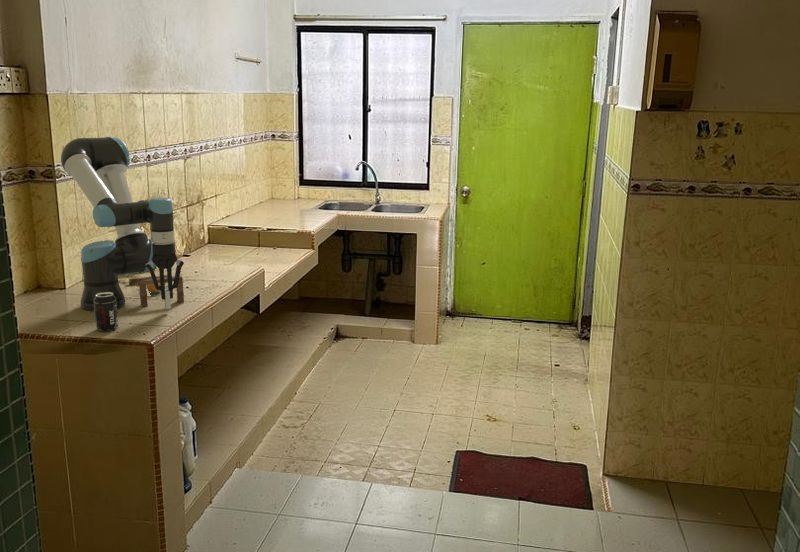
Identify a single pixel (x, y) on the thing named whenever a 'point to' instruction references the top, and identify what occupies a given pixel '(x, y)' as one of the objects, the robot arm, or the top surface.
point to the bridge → (148, 281)
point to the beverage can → (105, 311)
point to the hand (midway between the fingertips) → (167, 307)
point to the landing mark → (155, 293)
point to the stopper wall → (136, 280)
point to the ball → (152, 288)
